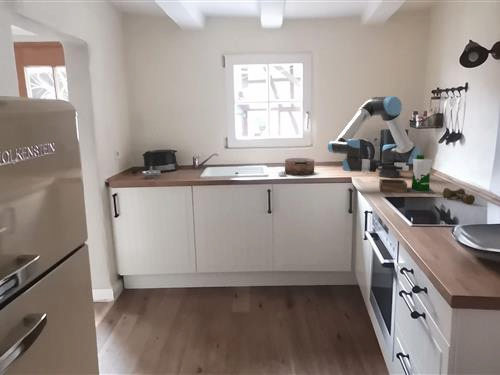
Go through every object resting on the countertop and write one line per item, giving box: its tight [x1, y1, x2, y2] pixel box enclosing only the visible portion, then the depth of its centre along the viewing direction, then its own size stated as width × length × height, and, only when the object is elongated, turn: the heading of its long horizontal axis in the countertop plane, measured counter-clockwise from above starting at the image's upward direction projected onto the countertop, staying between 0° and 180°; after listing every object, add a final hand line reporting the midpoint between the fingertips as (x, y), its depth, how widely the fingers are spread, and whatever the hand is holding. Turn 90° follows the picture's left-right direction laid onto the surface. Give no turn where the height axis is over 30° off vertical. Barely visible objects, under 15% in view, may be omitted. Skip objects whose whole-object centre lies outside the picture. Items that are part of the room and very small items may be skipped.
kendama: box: [442, 187, 476, 205], centre depth 202 cm, size 6×10×20 cm
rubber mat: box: [407, 186, 435, 195], centre depth 226 cm, size 13×13×1 cm
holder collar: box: [378, 178, 408, 193], centre depth 230 cm, size 14×14×5 cm
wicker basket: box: [284, 157, 315, 176], centre depth 296 cm, size 30×22×11 cm
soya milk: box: [411, 154, 434, 191], centre depth 224 cm, size 9×9×20 cm
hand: (407, 166), depth 225 cm, fingers open, 13 cm apart
